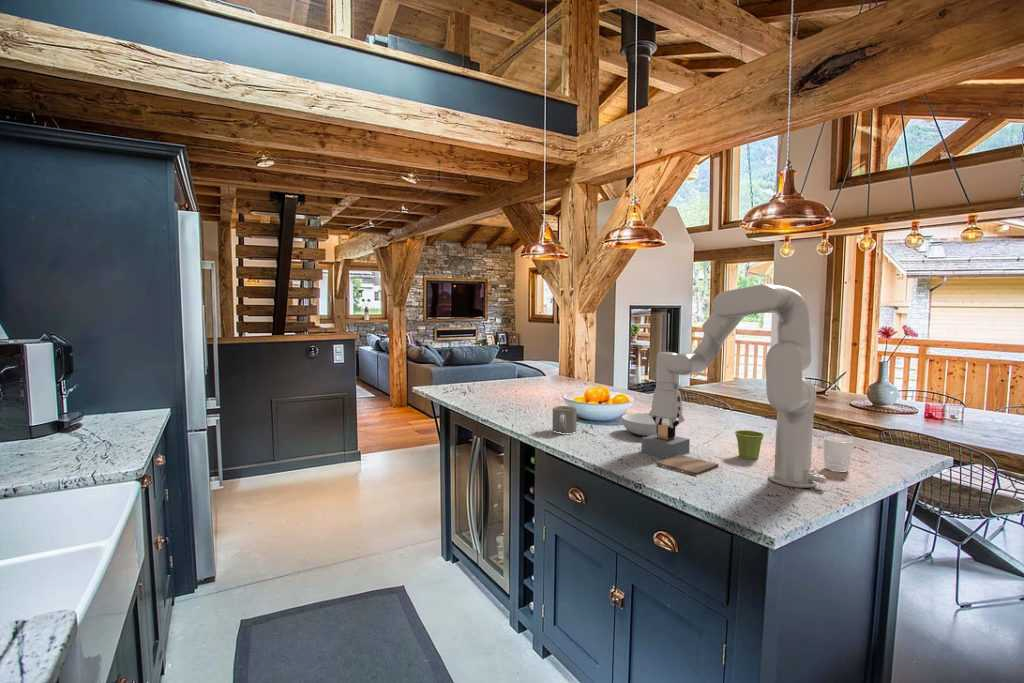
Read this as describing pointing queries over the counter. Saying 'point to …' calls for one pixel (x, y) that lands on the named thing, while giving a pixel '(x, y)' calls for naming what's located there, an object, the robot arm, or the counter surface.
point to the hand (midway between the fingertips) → (665, 436)
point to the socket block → (665, 446)
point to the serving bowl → (641, 423)
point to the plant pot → (749, 443)
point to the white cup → (837, 453)
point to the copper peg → (664, 432)
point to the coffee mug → (564, 419)
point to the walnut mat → (688, 464)
